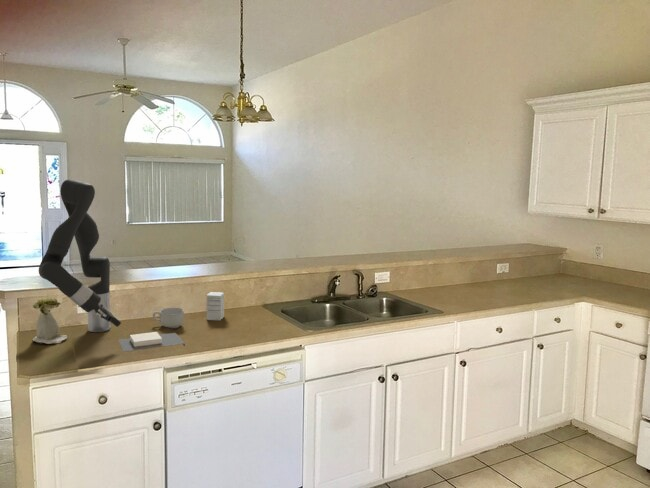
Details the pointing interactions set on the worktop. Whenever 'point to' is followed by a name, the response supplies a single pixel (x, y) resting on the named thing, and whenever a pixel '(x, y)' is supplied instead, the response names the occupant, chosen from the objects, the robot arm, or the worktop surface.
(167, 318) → the teacup
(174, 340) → the mat
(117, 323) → the robot arm
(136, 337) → the tile
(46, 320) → the potted leafy plant
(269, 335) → the worktop surface
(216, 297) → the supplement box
